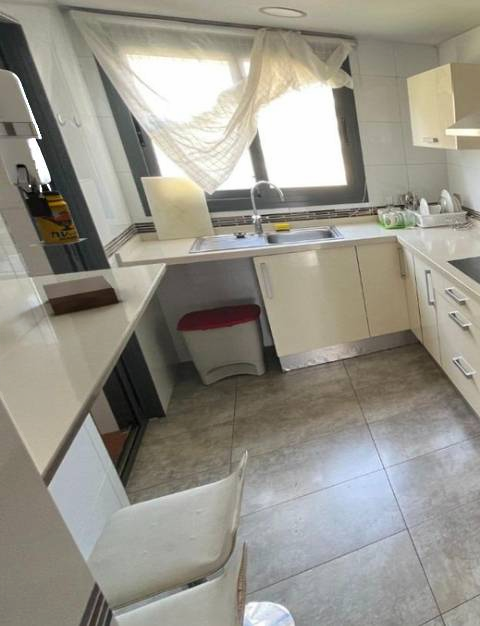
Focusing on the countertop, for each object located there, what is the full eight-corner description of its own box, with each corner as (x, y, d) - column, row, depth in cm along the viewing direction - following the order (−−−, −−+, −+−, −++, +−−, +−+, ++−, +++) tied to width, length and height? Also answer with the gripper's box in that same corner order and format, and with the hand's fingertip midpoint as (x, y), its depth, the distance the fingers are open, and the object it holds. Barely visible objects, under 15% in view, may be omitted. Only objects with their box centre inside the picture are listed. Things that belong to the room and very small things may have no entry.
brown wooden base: (55, 315, 104) (47, 299, 102) (48, 300, 114) (42, 285, 112) (119, 302, 112) (113, 287, 110) (108, 289, 121) (102, 275, 120)
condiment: (74, 243, 108) (55, 191, 104) (25, 247, 105) (3, 193, 101) (88, 239, 114) (70, 189, 110) (42, 242, 111) (22, 191, 107)
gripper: (2, 132, 105) (34, 211, 111) (-27, 131, 92) (11, 221, 98) (48, 132, 109) (76, 209, 116) (27, 131, 96) (60, 217, 102)
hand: (46, 213), depth 107 cm, fingers closed on condiment, 6 cm apart
